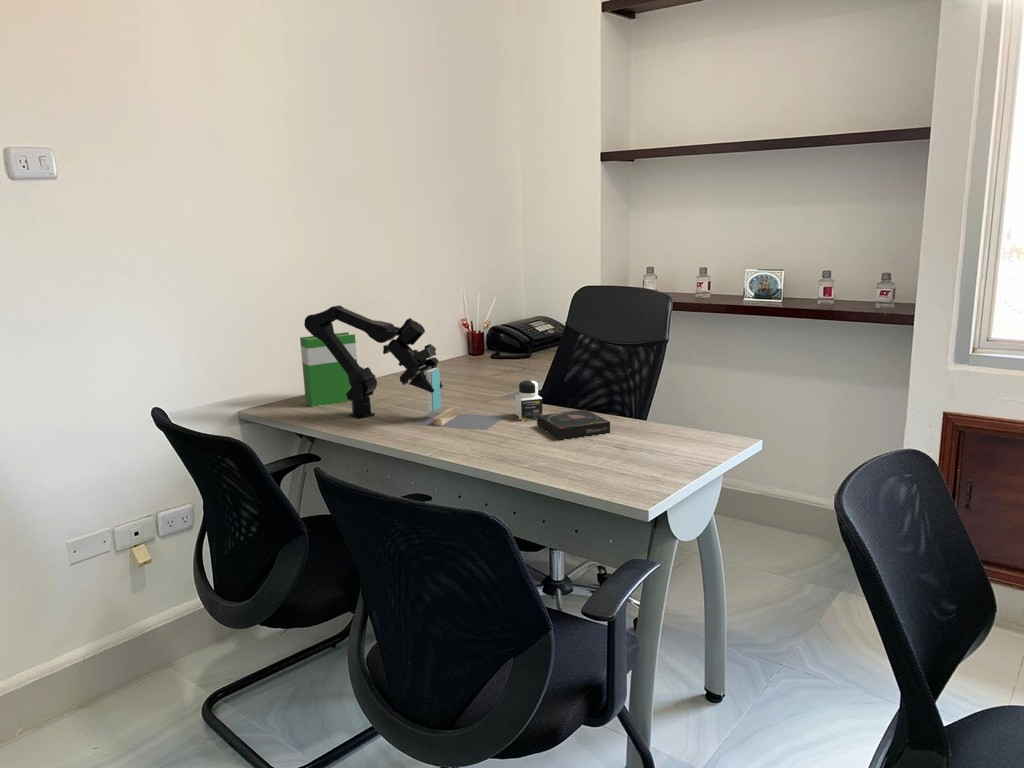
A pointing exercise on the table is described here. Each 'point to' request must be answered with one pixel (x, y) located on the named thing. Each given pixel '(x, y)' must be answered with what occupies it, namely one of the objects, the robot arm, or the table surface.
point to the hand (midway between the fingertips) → (437, 389)
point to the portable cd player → (573, 424)
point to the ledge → (446, 416)
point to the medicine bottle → (528, 401)
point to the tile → (434, 381)
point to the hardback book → (325, 370)
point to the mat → (461, 421)
